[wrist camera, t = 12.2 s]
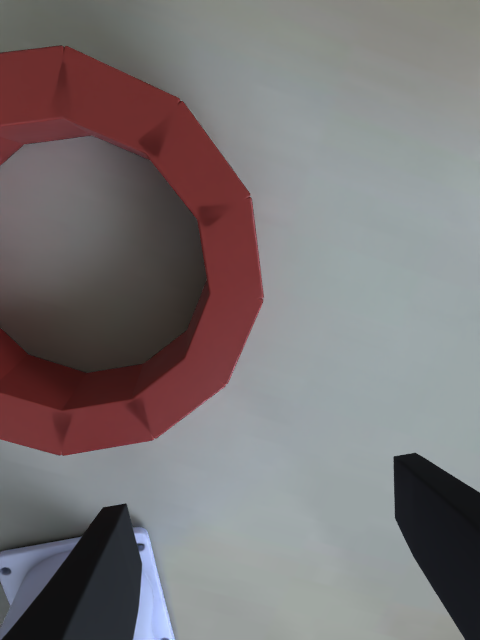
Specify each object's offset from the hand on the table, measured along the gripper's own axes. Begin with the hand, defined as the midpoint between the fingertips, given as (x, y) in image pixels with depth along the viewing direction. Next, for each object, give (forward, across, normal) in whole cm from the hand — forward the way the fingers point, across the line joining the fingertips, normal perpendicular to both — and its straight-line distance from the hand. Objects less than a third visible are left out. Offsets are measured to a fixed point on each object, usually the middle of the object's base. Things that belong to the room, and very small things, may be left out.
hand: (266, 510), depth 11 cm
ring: (+9, +6, -6) cm, 13 cm away
